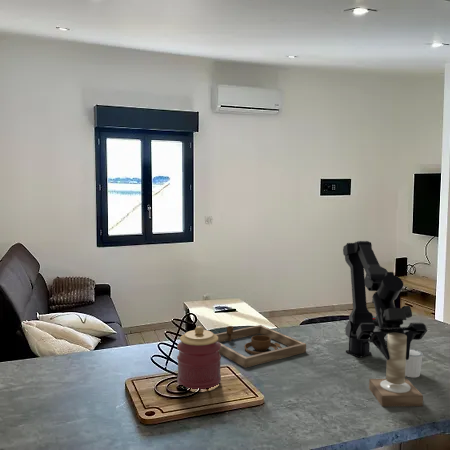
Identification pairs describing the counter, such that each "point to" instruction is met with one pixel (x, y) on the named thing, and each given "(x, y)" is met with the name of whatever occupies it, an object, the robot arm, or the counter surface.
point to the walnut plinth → (395, 393)
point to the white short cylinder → (413, 363)
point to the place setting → (256, 342)
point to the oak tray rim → (293, 349)
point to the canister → (199, 359)
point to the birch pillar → (396, 358)
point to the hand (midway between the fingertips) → (398, 359)
